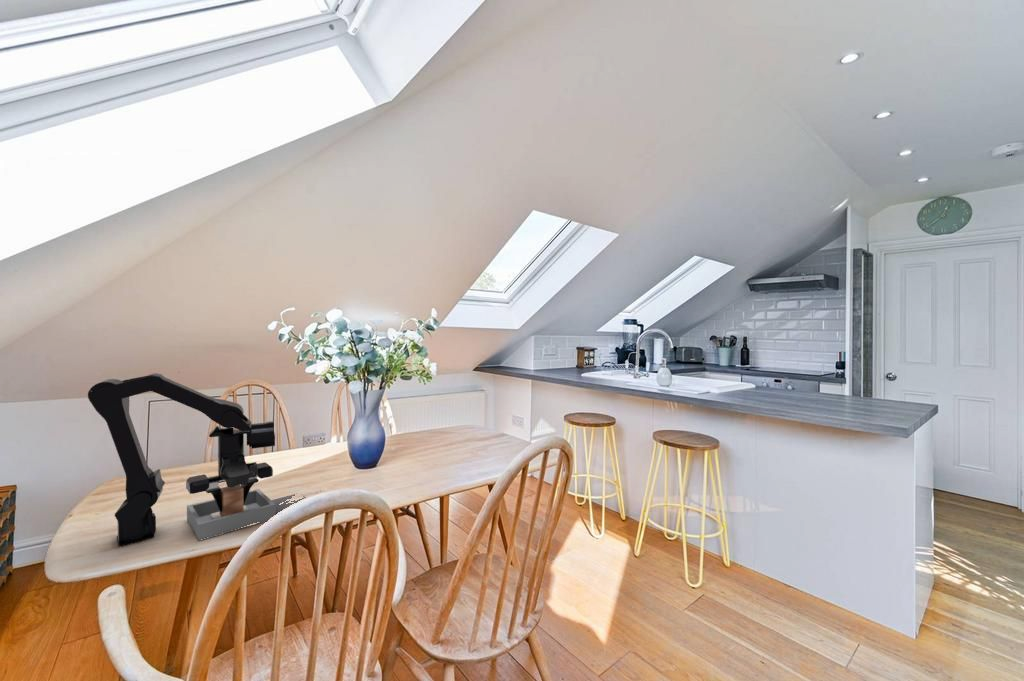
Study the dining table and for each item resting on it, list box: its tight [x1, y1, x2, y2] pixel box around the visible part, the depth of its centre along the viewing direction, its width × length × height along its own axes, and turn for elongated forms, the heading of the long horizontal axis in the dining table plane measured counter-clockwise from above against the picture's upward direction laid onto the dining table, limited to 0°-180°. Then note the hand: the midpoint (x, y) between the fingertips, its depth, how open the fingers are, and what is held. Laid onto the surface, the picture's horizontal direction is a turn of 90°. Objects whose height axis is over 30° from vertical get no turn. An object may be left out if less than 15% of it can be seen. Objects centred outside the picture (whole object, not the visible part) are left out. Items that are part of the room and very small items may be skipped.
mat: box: [270, 492, 305, 514], centre depth 124 cm, size 10×10×1 cm
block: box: [220, 485, 244, 517], centre depth 114 cm, size 4×4×7 cm
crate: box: [186, 488, 277, 541], centre depth 114 cm, size 17×15×4 cm
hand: (231, 508), depth 114 cm, fingers closed on block, 4 cm apart
